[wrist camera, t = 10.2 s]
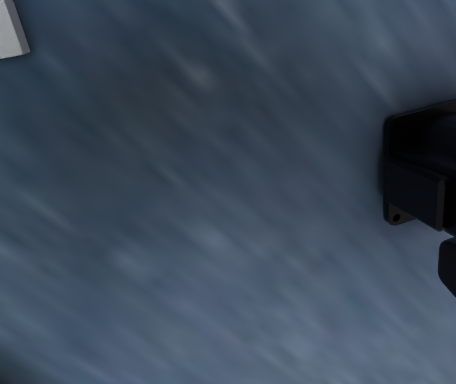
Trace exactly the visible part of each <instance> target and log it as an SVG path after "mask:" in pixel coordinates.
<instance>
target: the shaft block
mask: <svg viewBox="0 0 456 384" xmlns="http://www.w3.org/2000/svg"><path fill="white" fill-rule="evenodd" d="M29 52H31V51H30V48H29V45H28V43H27V40H26V37H25V34H24V31H23V28H22V25H21V22H20V19H19V16H18V13H17V11H16V8H15V5H14V2H13V0H0V59H2V58H7V57H13V56H18V55H23V54H26V53H29Z"/></svg>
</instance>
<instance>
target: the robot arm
mask: <svg viewBox="0 0 456 384" xmlns="http://www.w3.org/2000/svg"><path fill="white" fill-rule="evenodd" d="M395 123H397V124H396V127H395V128H394V129H393V127H394V124H395ZM384 142H385V160H384V199H385V220H386V221H387V222H388V223H389V224H391V225H393V226H395V225H399V224H402V223H405V222H408V221H411V220H414V219H418V220H419V221H421V222H423V223H424V224H426V225H428V226H430V227H431V228H433V229H435V230H437V231H439V232H440V231H445V232H447V233H449V234H450V235H452V236H454V237H453V238H450V239H447V240H444V241H443V242H441V244H440V246H439V259H438V275H439V278H440V279H441V281H442V283H443V284H444V285H445V286H446V287H447V288H448V289H449V291H450V292H451V293H452V294H453V295H454V296H455V297H456V99H455V100H451V101H447V102H443V103H440V104H436V105H432V106H428V107H424V108H421V109H417V110H413V111H409V112H405V113H402V114H398V115H394V116H391V117H389V118H388V119H387V121H386V123H385V127H384ZM394 215H395V217H394ZM393 217H394V218H393Z"/></svg>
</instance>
